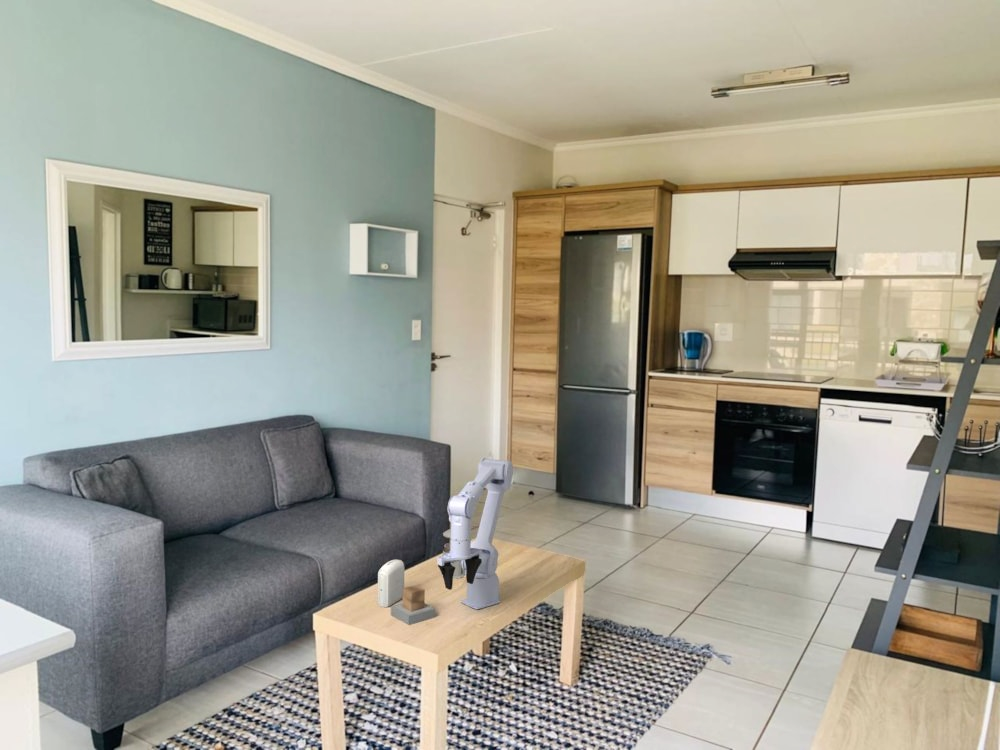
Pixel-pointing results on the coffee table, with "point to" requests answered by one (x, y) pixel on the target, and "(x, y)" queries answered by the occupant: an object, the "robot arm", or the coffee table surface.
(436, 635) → the coffee table surface
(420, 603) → the walnut block
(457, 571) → the french press
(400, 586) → the photo printer
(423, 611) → the plinth
